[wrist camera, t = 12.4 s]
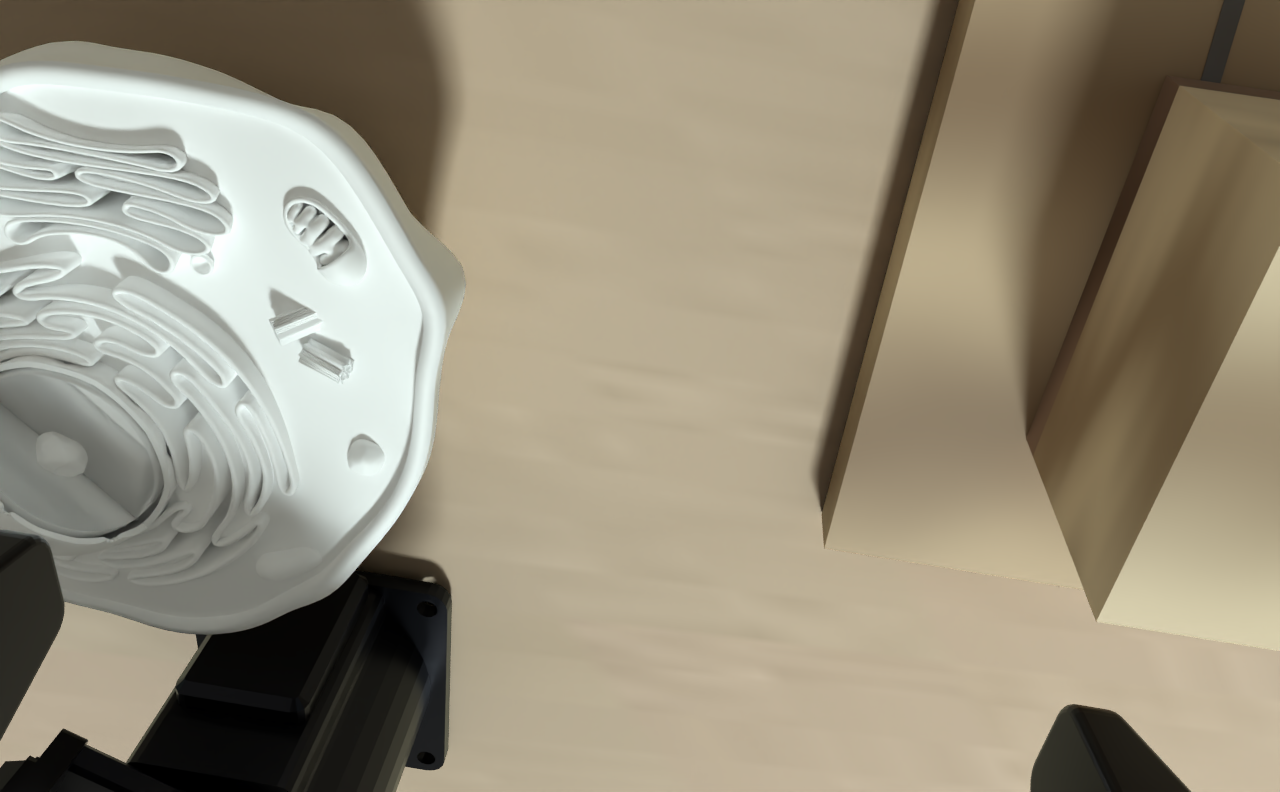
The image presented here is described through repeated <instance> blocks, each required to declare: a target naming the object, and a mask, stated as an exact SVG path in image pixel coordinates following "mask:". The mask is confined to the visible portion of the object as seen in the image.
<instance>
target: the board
mask: <svg viewBox="0 0 1280 792" xmlns="http://www.w3.org/2000/svg"><path fill="white" fill-rule="evenodd" d="M1166 75H1167V76H1174V77H1180V78H1187V79H1194V80H1201V81H1208V82H1215V83H1222V84H1229V85H1236V86H1243V87H1250V88H1257V89H1264V90H1270V91H1277V92H1280V0H959V3H958V7H957V10H956V14H955V18H954V22H953V25H952V29H951V33H950V36H949V40H948V44H947V48H946V51H945V55H944V59H943V63H942V66H941V70H940V74H939V78H938V81H937V85H936V89H935V93H934V96H933V100H932V104H931V107H930V111H929V115H928V119H927V122H926V126H925V130H924V134H923V137H922V141H921V145H920V149H919V152H918V156H917V160H916V164H915V167H914V171H913V175H912V178H911V182H910V186H909V190H908V193H907V197H906V201H905V205H904V208H903V212H902V216H901V220H900V223H899V227H898V231H897V235H896V238H895V242H894V246H893V249H892V253H891V257H890V261H889V264H888V268H887V272H886V276H885V279H884V283H883V287H882V291H881V294H880V298H879V302H878V306H877V309H876V313H875V317H874V320H873V324H872V328H871V332H870V335H869V339H868V343H867V347H866V350H865V354H864V358H863V362H862V365H861V369H860V373H859V377H858V380H857V384H856V388H855V391H854V395H853V399H852V403H851V406H850V410H849V414H848V418H847V421H846V425H845V429H844V433H843V436H842V440H841V444H840V448H839V451H838V455H837V459H836V462H835V466H834V470H833V474H832V477H831V481H830V485H829V489H828V492H827V496H826V500H825V504H824V507H823V511H822V525H823V539H824V549H829V550H835V551H842V552H848V553H854V554H860V555H867V556H873V557H879V558H886V559H892V560H898V561H904V562H911V563H917V564H923V565H929V566H936V567H942V568H948V569H955V570H961V571H967V572H973V573H980V574H986V575H992V576H998V577H1005V578H1011V579H1017V580H1024V581H1030V582H1036V583H1042V584H1049V585H1055V586H1061V587H1067V588H1074V589H1080V590H1084V589H1083V586H1082V583H1081V581H1080V578H1079V576H1078V573H1077V570H1076V568H1075V565H1074V563H1073V560H1072V557H1071V555H1070V552H1069V550H1068V547H1067V544H1066V542H1065V539H1064V537H1063V534H1062V531H1061V529H1060V526H1059V524H1058V521H1057V518H1056V516H1055V513H1054V511H1053V508H1052V505H1051V503H1050V500H1049V498H1048V495H1047V492H1046V490H1045V487H1044V484H1043V482H1042V479H1041V477H1040V474H1039V471H1038V469H1037V466H1036V464H1035V461H1034V458H1033V456H1032V453H1031V451H1030V448H1029V445H1028V443H1027V440H1026V438H1027V435H1028V432H1029V430H1030V427H1031V425H1032V422H1033V419H1034V417H1035V414H1036V412H1037V409H1038V407H1039V404H1040V401H1041V399H1042V396H1043V394H1044V391H1045V388H1046V386H1047V383H1048V381H1049V378H1050V376H1051V373H1052V370H1053V368H1054V365H1055V363H1056V360H1057V357H1058V355H1059V352H1060V350H1061V347H1062V344H1063V342H1064V339H1065V337H1066V334H1067V332H1068V329H1069V326H1070V324H1071V321H1072V319H1073V316H1074V313H1075V311H1076V308H1077V306H1078V303H1079V300H1080V298H1081V295H1082V293H1083V290H1084V288H1085V285H1086V282H1087V280H1088V277H1089V275H1090V272H1091V269H1092V267H1093V264H1094V262H1095V259H1096V257H1097V254H1098V251H1099V249H1100V246H1101V244H1102V241H1103V238H1104V236H1105V233H1106V231H1107V228H1108V225H1109V223H1110V220H1111V218H1112V215H1113V213H1114V210H1115V207H1116V205H1117V202H1118V200H1119V197H1120V194H1121V192H1122V189H1123V187H1124V184H1125V181H1126V179H1127V176H1128V174H1129V171H1130V169H1131V166H1132V163H1133V161H1134V158H1135V156H1136V153H1137V150H1138V148H1139V145H1140V143H1141V140H1142V138H1143V135H1144V132H1145V130H1146V127H1147V125H1148V122H1149V119H1150V117H1151V114H1152V112H1153V109H1154V106H1155V104H1156V101H1157V99H1158V96H1159V94H1160V91H1161V88H1162V86H1163V83H1164V81H1165V78H1166Z"/></svg>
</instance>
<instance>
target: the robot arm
mask: <svg viewBox="0 0 1280 792" xmlns="http://www.w3.org/2000/svg"><path fill="white" fill-rule="evenodd" d="M425 602H430V603H433V604H434V605H435V606H431V605H428V604H426V603H425ZM451 614H452V600H451V596H450V594H449V593H448V591H447V590H446V589H444V588H443V587H441V586H440V585H437V584H434V583H430V582H423V581H417V580H411V579H405V578H399V577H393V576H387V575H380V574H374V573H368V572H362V571H356V570H355V571H354V572H353V573H352V574H351V575H350V577H349V578H348V579H347V580H346V581H345V582H344V583H343V584H342V585H341V586H340V587H339V588H338V589H336V590H335V591H334V592H333V593H331V594H330V595H328V596H327V597H325V598H323V599H321V600H319V601H317V602H314V603H312V604H309V605H306V606H303V607H300V608H298V609H295V610H292V611H290V612H288V613H286V614H284V615H282V616H280V617H278V618H276V619H274V620H272V621H269V622H267V623H265V624H262V625H260V626H257V627H254V628H251V629H247V630H243V631H238V632H232V633H224V634H208V635H206V634H196V638H197V645H198V650H197V651H196V653H195V654H194V656H193V657H192V659H191V661H190V662H189V664H188V665H187V667H186V668H185V670H184V671H183V673H182V674H181V676H180V678H179V679H178V681H177V683H176V686H175V688H174V689H173V691H172V692H171V694H170V696H169V697H168V699H167V700H166V702H165V703H164V705H163V706H162V708H161V709H160V711H159V712H158V714H157V716H156V717H155V719H154V720H153V722H152V723H151V725H150V726H149V728H148V729H147V731H146V733H145V734H144V736H143V737H142V739H141V740H140V742H139V743H138V745H137V746H136V748H135V750H134V751H133V753H132V754H131V756H130V757H129V759H128V760H127V762H126V763H124V762H122V761H120V760H118V759H116V758H114V757H112V756H110V755H107V754H105V753H103V752H101V751H99V750H97V749H95V748H93V747H90V746H88V745H86V744H87V742H88V740H87V739H85V738H83V737H81V736H79V735H77V734H74V733H72V732H70V731H68V730H66V729H62V731H61V732H60V733H59V734H58V735H57V737H56V738H55V739H54V740H53V742H52V743H51V744H50V745H49V747H48V748H47V749H46V750H45V752H44V753H43V754H42V755H41V757H40V758H39V757H36V758H34V757H32V756H29V757H28V758H27V759H26V760H24V761H6V762H5V763H4V764H3V765H2V766H1V768H0V792H396V790H397V787H398V784H399V781H400V779H401V776H402V773H403V770H404V768H405V767H411V768H417V769H423V770H436V769H439V768H440V767H442V766H443V763H444V760H445V757H446V754H447V751H448V737H449V696H450V655H451ZM63 617H64V598H63V594H62V590H61V586H60V582H59V578H58V574H57V570H56V566H55V562H54V558H53V554H52V550H51V547H50V545H49V543H48V542H47V541H46V540H45V539H44V538H43V537H41V536H39V535H35V534H28V533H22V532H16V531H10V530H0V740H1V739H2V737H3V735H4V733H5V731H6V729H7V727H8V725H9V724H10V722H11V720H12V718H13V716H14V714H15V712H16V711H17V709H18V707H19V705H20V703H21V701H22V699H23V697H24V696H25V694H26V692H27V690H28V688H29V686H30V684H31V682H32V681H33V679H34V677H35V675H36V673H37V671H38V669H39V668H40V666H41V664H42V662H43V660H44V658H45V656H46V654H47V653H48V651H49V649H50V647H51V645H52V643H53V641H54V640H55V638H56V636H57V634H58V632H59V630H60V627H61V624H62V621H63ZM1030 790H1031V792H1191V791H1190V790H1189V789H1188V788H1187V787H1186V786H1185V784H1184V783H1183V782H1182V781H1181V780H1180V779H1179V778H1178V777H1177V776H1176V775H1175V774H1174V773H1173V772H1172V770H1171V769H1170V768H1169V767H1168V766H1167V765H1166V764H1165V763H1164V762H1163V761H1162V760H1161V759H1160V757H1159V756H1158V755H1157V754H1156V753H1155V752H1154V751H1153V750H1152V749H1151V748H1150V747H1149V746H1148V745H1147V743H1146V742H1145V741H1144V740H1143V739H1142V738H1141V737H1140V736H1139V735H1138V734H1137V733H1136V732H1135V731H1134V729H1133V728H1132V727H1131V726H1130V725H1129V724H1128V723H1127V722H1126V721H1125V720H1124V719H1123V718H1122V717H1121V716H1120V715H1118V714H1117V713H1115V712H1113V711H1110V710H1106V709H1100V708H1094V707H1088V706H1082V705H1076V704H1072V705H1067V706H1065V707H1064V708H1063V709H1062V710H1061V711H1060V713H1059V714H1058V716H1057V718H1056V720H1055V722H1054V724H1053V726H1052V728H1051V730H1050V732H1049V734H1048V736H1047V738H1046V740H1045V742H1044V744H1043V746H1042V749H1041V751H1040V753H1039V755H1038V757H1037V759H1036V761H1035V763H1034V766H1033V770H1032V775H1031V787H1030Z"/></svg>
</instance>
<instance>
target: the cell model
mask: <svg viewBox="0 0 1280 792" xmlns="http://www.w3.org/2000/svg"><path fill="white" fill-rule="evenodd" d="M465 287H466V281H465V276H464V271H463V267H462V265H461V264H460V262H459V261H458V260H457V258H456V257H455V256H454V254H453V253H452V252H451V251H450V250H449V249H448V248H447V247H446V246H445V245H444V244H442V243H441V242H440V241H439V240H438V239H437V238H436V237H435V236H433V235H432V234H431V233H430V232H429V231H428V230H427V229H426V228H425V227H424V226H422V224H421V223H420V222H419V221H418V220H417V219H416V218H415V217H414V216H413V215H412V214H411V213H410V211H409V210H408V208H407V206H406V205H405V203H404V201H403V199H402V198H401V196H400V194H399V193H398V191H397V189H396V187H395V186H394V184H393V182H392V181H391V179H390V177H389V175H388V174H387V172H386V171H385V169H384V167H383V166H382V164H381V163H380V161H379V160H378V158H377V156H376V155H375V154H374V152H373V151H372V150H371V148H370V147H369V146H368V144H367V143H366V142H365V140H364V139H363V138H362V137H361V136H360V135H359V134H358V133H357V132H356V131H355V130H354V129H353V128H352V127H351V126H350V125H348V124H347V123H345V122H344V121H342V120H341V119H339V118H338V117H336V116H335V115H332V114H329V113H326V112H323V111H320V110H317V109H314V108H308V107H302V106H298V105H294V104H290V103H288V102H285V101H282V100H279V99H277V98H275V97H273V96H271V95H269V94H267V93H265V92H263V91H260V90H258V89H256V88H254V87H252V86H250V85H248V84H246V83H244V82H242V81H240V80H238V79H235V78H233V77H231V76H229V75H227V74H224V73H221V72H219V71H216V70H214V69H211V68H208V67H205V66H201V65H198V64H195V63H192V62H189V61H185V60H182V59H178V58H174V57H170V56H166V55H161V54H156V53H150V52H143V51H137V50H130V49H124V48H118V47H112V46H107V45H102V44H97V43H92V42H84V41H64V42H53V43H47V44H44V45H40V46H36V47H33V48H30V49H27V50H24V51H21V52H19V53H16V54H14V55H11V56H9V57H6V58H4V59H2V60H0V530H10V531H16V532H22V533H28V534H35V535H39V536H41V537H43V538H44V539H45V540H46V541H47V542H48V543H49V545H50V547H51V550H52V554H53V558H54V562H55V566H56V570H57V574H58V578H59V582H60V586H61V590H62V594H63V598H64V602H68V603H72V604H76V605H80V606H84V607H88V608H92V609H97V610H101V611H105V612H109V613H112V614H115V615H119V616H122V617H125V618H128V619H131V620H134V621H137V622H140V623H143V624H146V625H149V626H153V627H156V628H160V629H164V630H168V631H174V632H179V633H188V634H206V635H208V634H224V633H232V632H238V631H243V630H247V629H251V628H254V627H257V626H260V625H262V624H265V623H267V622H269V621H272V620H274V619H276V618H278V617H280V616H282V615H284V614H286V613H288V612H290V611H292V610H295V609H298V608H300V607H303V606H306V605H309V604H312V603H314V602H317V601H319V600H321V599H323V598H325V597H327V596H328V595H330V594H331V593H333V592H334V591H335V590H336V589H338V588H339V587H340V586H341V585H342V584H343V583H344V582H345V581H346V580H347V579H348V578H349V577H350V575H351V574H352V573H353V572H354V571H355V570H356V569H357V567H358V566H359V565H360V564H361V563H362V562H363V560H364V559H365V558H366V557H367V556H368V555H369V553H370V552H371V551H372V550H373V549H374V548H375V546H376V545H377V544H378V543H379V542H380V541H381V539H382V538H383V537H384V536H385V534H386V533H387V532H388V531H389V529H390V528H391V527H392V525H393V524H394V523H395V522H396V520H397V519H398V517H399V516H400V514H401V513H402V511H403V510H404V508H405V506H406V505H407V503H408V501H409V500H410V498H411V496H412V494H413V493H414V491H415V489H416V487H417V485H418V483H419V481H420V479H421V478H422V475H423V473H424V471H425V469H426V466H427V464H428V461H429V458H430V454H431V451H432V447H433V443H434V438H435V431H436V423H437V415H438V402H439V390H440V381H441V372H442V365H443V358H444V353H445V348H446V344H447V340H448V337H449V334H450V332H451V330H452V327H453V325H454V323H455V320H456V318H457V316H458V313H459V310H460V308H461V305H462V302H463V299H464V293H465Z"/></svg>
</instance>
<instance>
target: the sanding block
mask: <svg viewBox="0 0 1280 792" xmlns="http://www.w3.org/2000/svg"><path fill="white" fill-rule="evenodd" d="M1026 440H1027V443H1028V445H1029V448H1030V451H1031V453H1032V456H1033V458H1034V461H1035V464H1036V466H1037V469H1038V471H1039V474H1040V477H1041V479H1042V482H1043V484H1044V487H1045V490H1046V492H1047V495H1048V498H1049V500H1050V503H1051V505H1052V508H1053V511H1054V513H1055V516H1056V518H1057V521H1058V524H1059V526H1060V529H1061V531H1062V534H1063V537H1064V539H1065V542H1066V544H1067V547H1068V550H1069V552H1070V555H1071V557H1072V560H1073V563H1074V565H1075V568H1076V570H1077V573H1078V576H1079V578H1080V581H1081V583H1082V586H1083V589H1084V591H1085V594H1086V596H1087V599H1088V602H1089V604H1090V607H1091V609H1092V612H1093V615H1094V617H1095V620H1096V622H1101V623H1107V624H1113V625H1120V626H1126V627H1132V628H1139V629H1145V630H1151V631H1157V632H1164V633H1170V634H1176V635H1182V636H1189V637H1195V638H1201V639H1207V640H1214V641H1220V642H1226V643H1232V644H1239V645H1245V646H1251V647H1257V648H1264V649H1270V650H1276V651H1280V92H1277V91H1270V90H1264V89H1257V88H1250V87H1243V86H1236V85H1229V84H1222V83H1215V82H1208V81H1201V80H1194V79H1187V78H1180V77H1174V76H1167V75H1166V78H1165V81H1164V83H1163V86H1162V88H1161V91H1160V94H1159V96H1158V99H1157V101H1156V104H1155V106H1154V109H1153V112H1152V114H1151V117H1150V119H1149V122H1148V125H1147V127H1146V130H1145V132H1144V135H1143V138H1142V140H1141V143H1140V145H1139V148H1138V150H1137V153H1136V156H1135V158H1134V161H1133V163H1132V166H1131V169H1130V171H1129V174H1128V176H1127V179H1126V181H1125V184H1124V187H1123V189H1122V192H1121V194H1120V197H1119V200H1118V202H1117V205H1116V207H1115V210H1114V213H1113V215H1112V218H1111V220H1110V223H1109V225H1108V228H1107V231H1106V233H1105V236H1104V238H1103V241H1102V244H1101V246H1100V249H1099V251H1098V254H1097V257H1096V259H1095V262H1094V264H1093V267H1092V269H1091V272H1090V275H1089V277H1088V280H1087V282H1086V285H1085V288H1084V290H1083V293H1082V295H1081V298H1080V300H1079V303H1078V306H1077V308H1076V311H1075V313H1074V316H1073V319H1072V321H1071V324H1070V326H1069V329H1068V332H1067V334H1066V337H1065V339H1064V342H1063V344H1062V347H1061V350H1060V352H1059V355H1058V357H1057V360H1056V363H1055V365H1054V368H1053V370H1052V373H1051V376H1050V378H1049V381H1048V383H1047V386H1046V388H1045V391H1044V394H1043V396H1042V399H1041V401H1040V404H1039V407H1038V409H1037V412H1036V414H1035V417H1034V419H1033V422H1032V425H1031V427H1030V430H1029V432H1028V435H1027V438H1026Z"/></svg>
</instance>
